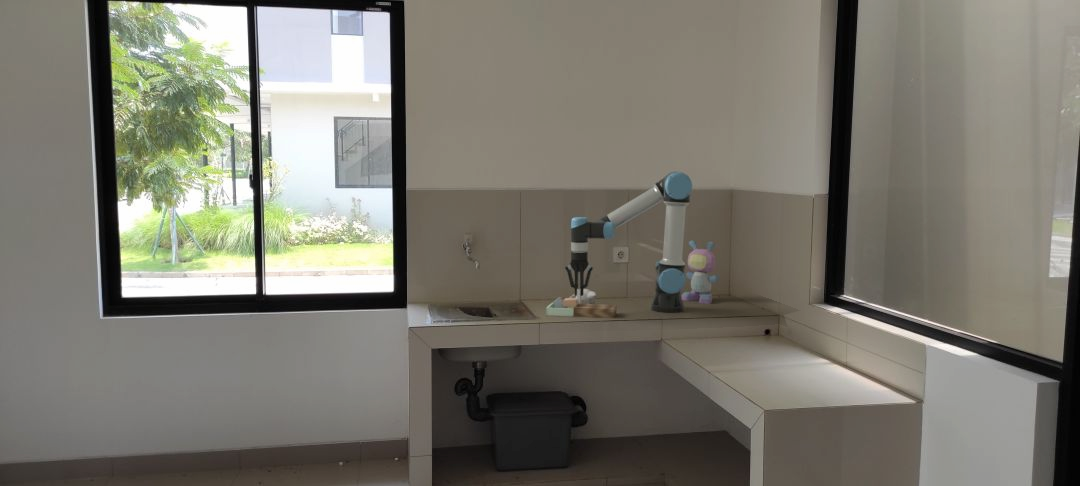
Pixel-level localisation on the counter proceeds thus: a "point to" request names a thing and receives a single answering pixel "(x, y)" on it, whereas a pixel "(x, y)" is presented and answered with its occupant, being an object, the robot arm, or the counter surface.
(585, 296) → the toy
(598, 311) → the board
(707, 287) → the toy
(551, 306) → the tray
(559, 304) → the tile
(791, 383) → the counter surface
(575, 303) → the tile
